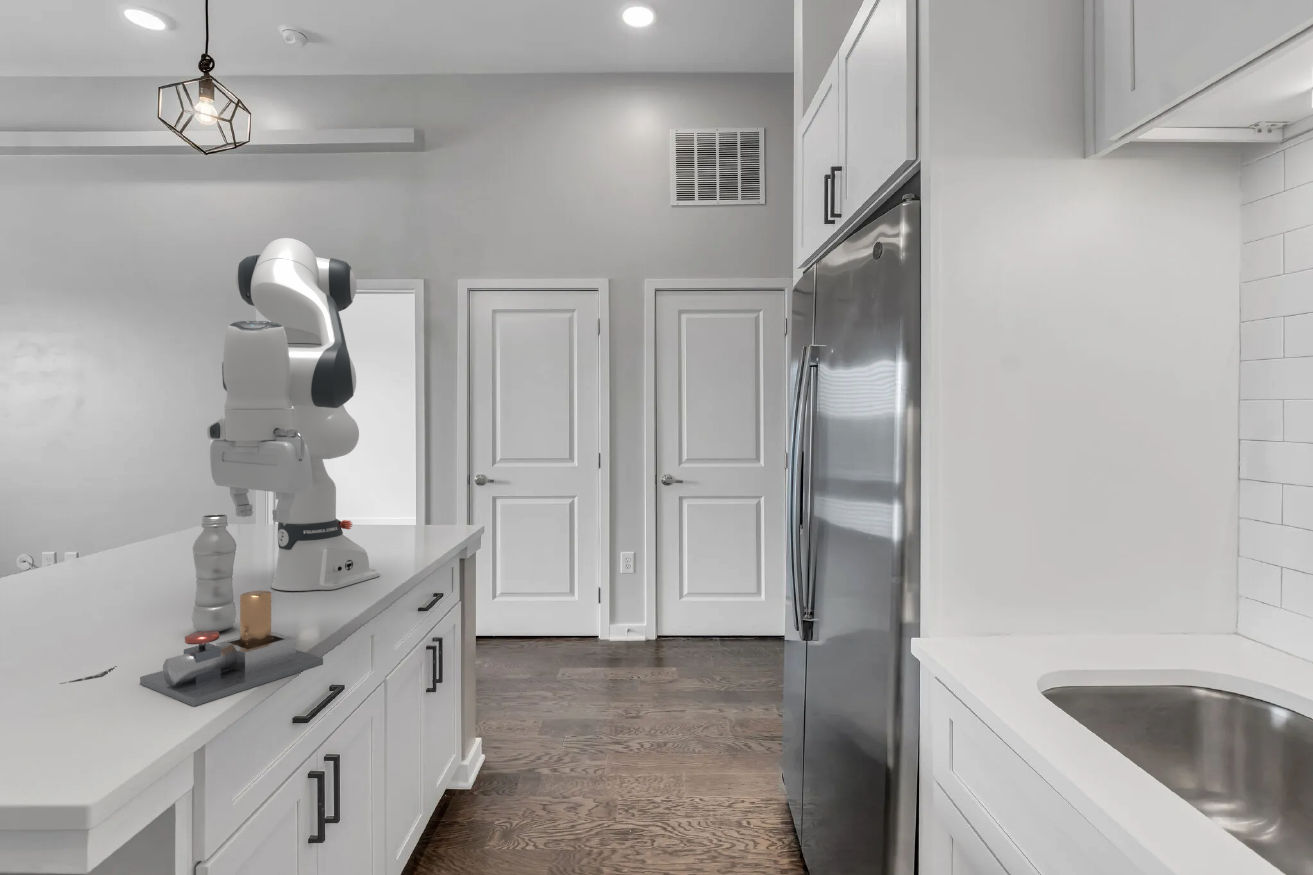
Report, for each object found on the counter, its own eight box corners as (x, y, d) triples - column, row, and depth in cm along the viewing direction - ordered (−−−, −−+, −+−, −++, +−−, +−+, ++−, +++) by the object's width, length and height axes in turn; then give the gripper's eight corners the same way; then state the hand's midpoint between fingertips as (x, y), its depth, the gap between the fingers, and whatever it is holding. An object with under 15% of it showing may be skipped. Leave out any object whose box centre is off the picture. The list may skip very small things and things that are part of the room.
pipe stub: (261, 654, 104) (261, 589, 104) (277, 659, 102) (277, 592, 102) (234, 662, 101) (234, 594, 101) (250, 667, 99) (250, 598, 99)
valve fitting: (268, 647, 110) (268, 605, 110) (323, 664, 103) (323, 619, 103) (140, 683, 95) (140, 635, 95) (193, 706, 88) (193, 653, 88)
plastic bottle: (230, 623, 123) (231, 512, 123) (241, 632, 118) (241, 516, 118) (188, 630, 118) (188, 515, 118) (196, 639, 114) (196, 519, 113)
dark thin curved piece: (51, 691, 91) (26, 688, 93) (51, 696, 91) (26, 693, 93) (148, 660, 103) (125, 657, 105) (148, 664, 103) (125, 662, 105)
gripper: (322, 428, 101) (325, 521, 102) (241, 426, 111) (244, 510, 112) (281, 430, 96) (284, 528, 97) (200, 427, 106) (203, 516, 107)
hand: (262, 518), depth 104 cm, fingers open, 8 cm apart
